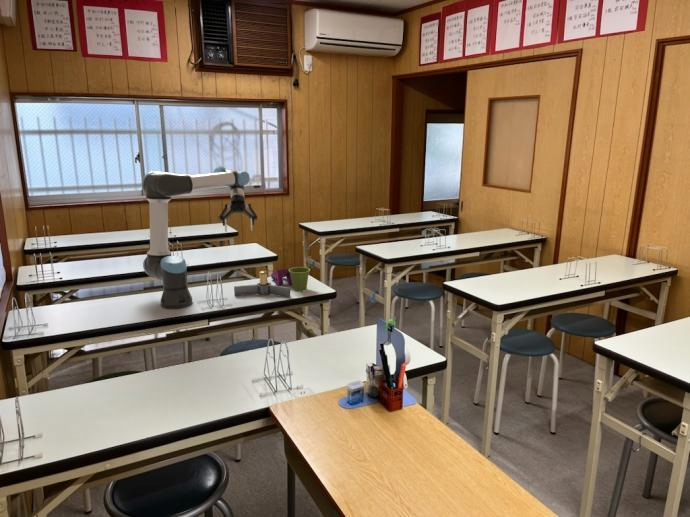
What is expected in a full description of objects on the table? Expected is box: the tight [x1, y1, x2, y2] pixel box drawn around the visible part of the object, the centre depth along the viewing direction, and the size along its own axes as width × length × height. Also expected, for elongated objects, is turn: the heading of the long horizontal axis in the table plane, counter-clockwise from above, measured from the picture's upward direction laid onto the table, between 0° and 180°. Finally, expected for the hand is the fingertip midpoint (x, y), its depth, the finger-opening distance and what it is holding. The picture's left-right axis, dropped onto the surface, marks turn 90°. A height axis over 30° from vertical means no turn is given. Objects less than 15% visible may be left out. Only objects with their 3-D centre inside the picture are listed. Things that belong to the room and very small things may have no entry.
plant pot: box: [288, 266, 311, 292], centre depth 273 cm, size 12×12×11 cm
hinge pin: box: [258, 270, 268, 286], centre depth 266 cm, size 4×4×12 cm
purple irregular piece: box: [270, 268, 292, 287], centre depth 286 cm, size 10×8×18 cm
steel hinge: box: [233, 281, 291, 298], centre depth 266 cm, size 30×10×5 cm, turn 87°
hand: (238, 229), depth 268 cm, fingers open, 13 cm apart
